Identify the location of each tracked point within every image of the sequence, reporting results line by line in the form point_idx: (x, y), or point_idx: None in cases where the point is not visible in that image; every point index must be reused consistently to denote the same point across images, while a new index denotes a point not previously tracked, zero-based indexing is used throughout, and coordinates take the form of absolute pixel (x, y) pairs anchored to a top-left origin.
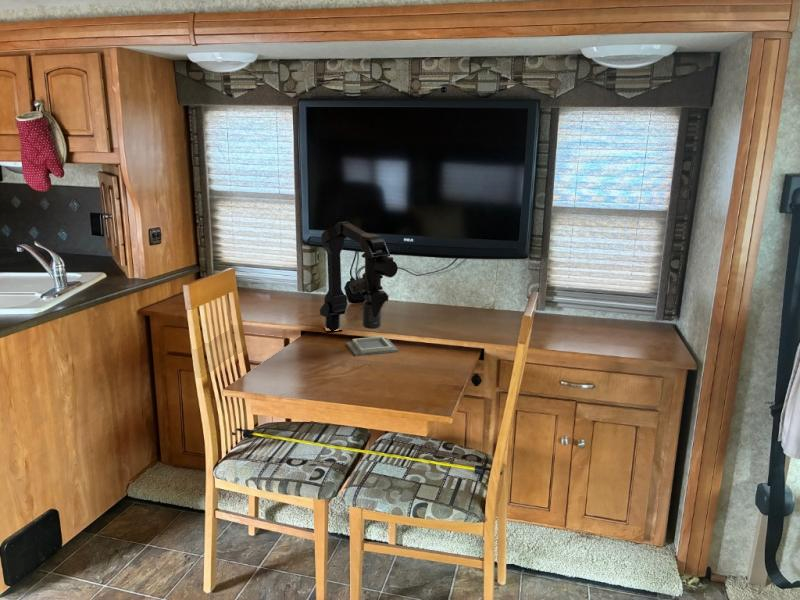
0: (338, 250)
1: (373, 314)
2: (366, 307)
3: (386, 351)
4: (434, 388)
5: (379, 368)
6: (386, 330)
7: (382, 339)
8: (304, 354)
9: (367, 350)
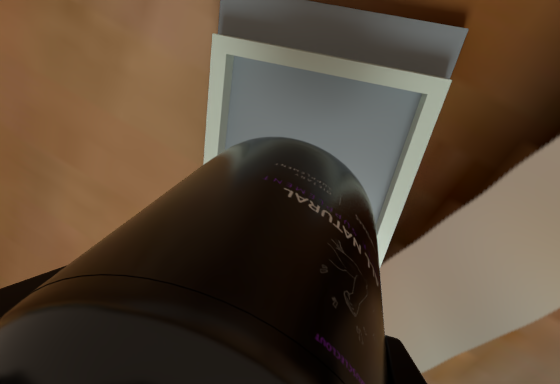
0: None
1: (64, 267)
2: (46, 284)
3: None
4: None
5: (23, 40)
6: (522, 364)
7: None
8: None
9: (212, 80)
